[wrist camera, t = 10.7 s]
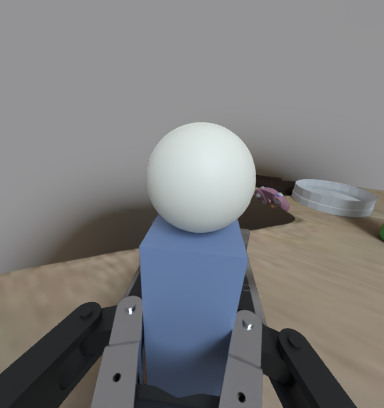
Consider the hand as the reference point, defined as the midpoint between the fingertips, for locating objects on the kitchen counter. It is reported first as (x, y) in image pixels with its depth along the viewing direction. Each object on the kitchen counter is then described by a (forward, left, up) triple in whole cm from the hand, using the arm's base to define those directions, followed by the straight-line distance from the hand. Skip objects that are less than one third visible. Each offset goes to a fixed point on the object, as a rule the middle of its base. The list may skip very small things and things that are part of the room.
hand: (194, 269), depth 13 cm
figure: (+1, -3, -11) cm, 11 cm away
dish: (+9, +66, -13) cm, 68 cm away
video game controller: (-5, +48, -13) cm, 50 cm away
